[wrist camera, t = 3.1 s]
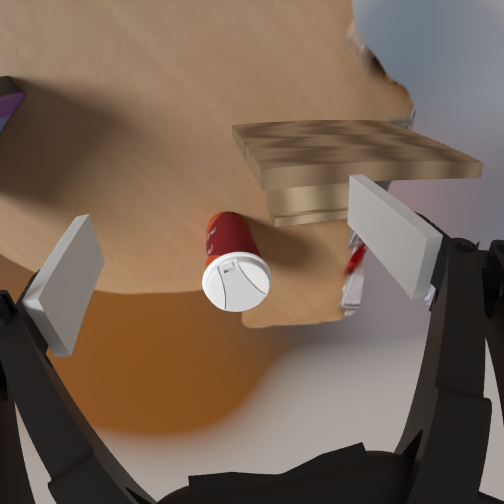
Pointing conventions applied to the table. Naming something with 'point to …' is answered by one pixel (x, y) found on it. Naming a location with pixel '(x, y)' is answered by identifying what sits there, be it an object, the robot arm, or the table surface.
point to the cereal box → (8, 99)
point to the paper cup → (233, 265)
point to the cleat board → (338, 163)
